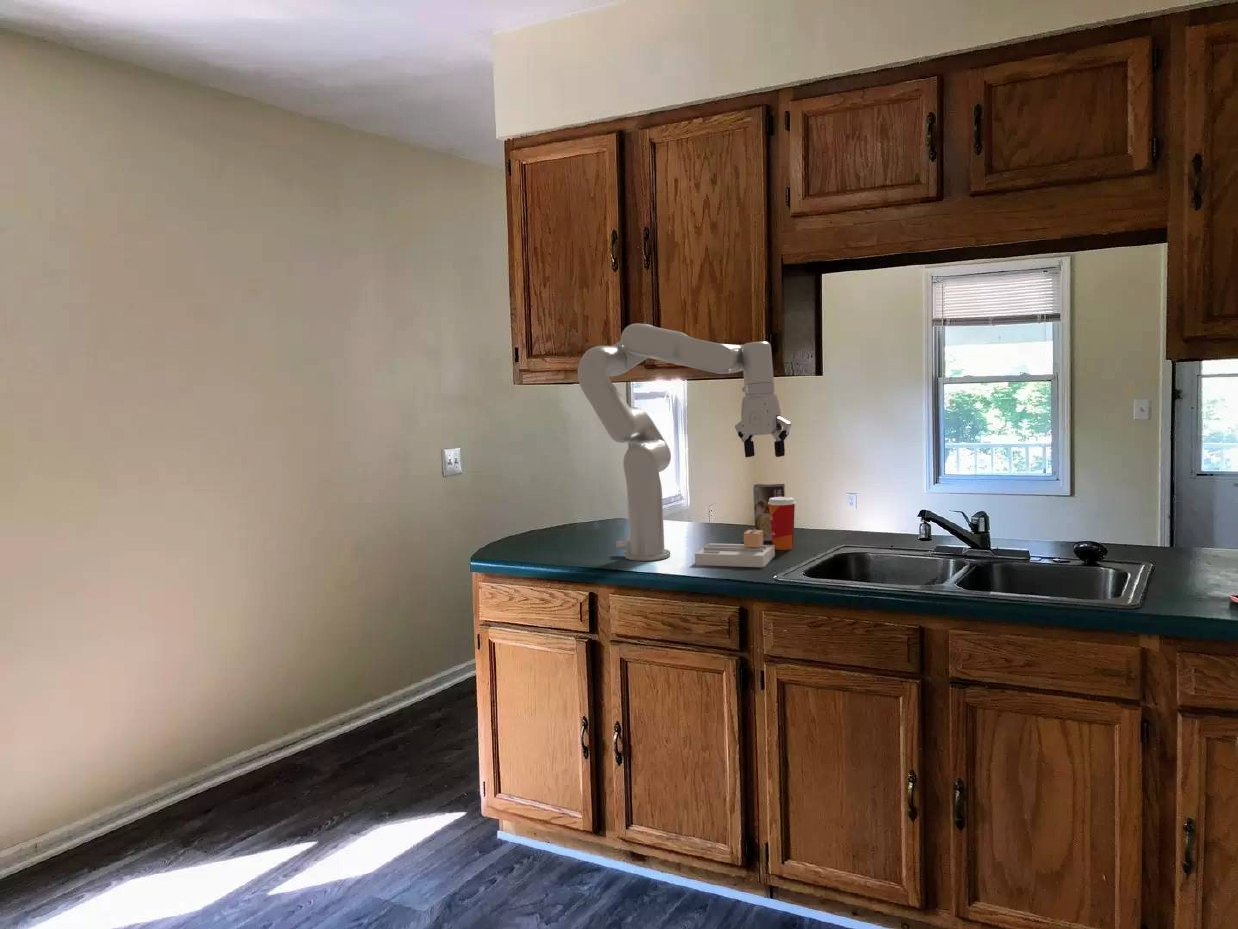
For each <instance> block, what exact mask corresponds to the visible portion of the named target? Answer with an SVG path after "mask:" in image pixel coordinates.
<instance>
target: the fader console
mask: <svg viewBox="0 0 1238 929" xmlns="http://www.w3.org/2000/svg"><path fill="white" fill-rule="evenodd" d="M774 557H776V552H775V545H773V544H762V545H761V546H760V547H756V548H751V547H744V543H710V542H709V543H707V544H706V545H705V546H703V547H702V548H701V549H699V550H698V551H696V552H695V553H694V561H695V562H694V563H695V564H694V565H696V566H716V567H739V568H740V567H745V568H746V567H747V568H749V567H750V568H765V567H766V566H767V565H768V564H769V563H770V562H771V561H772V560H773V559H774Z"/></svg>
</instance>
